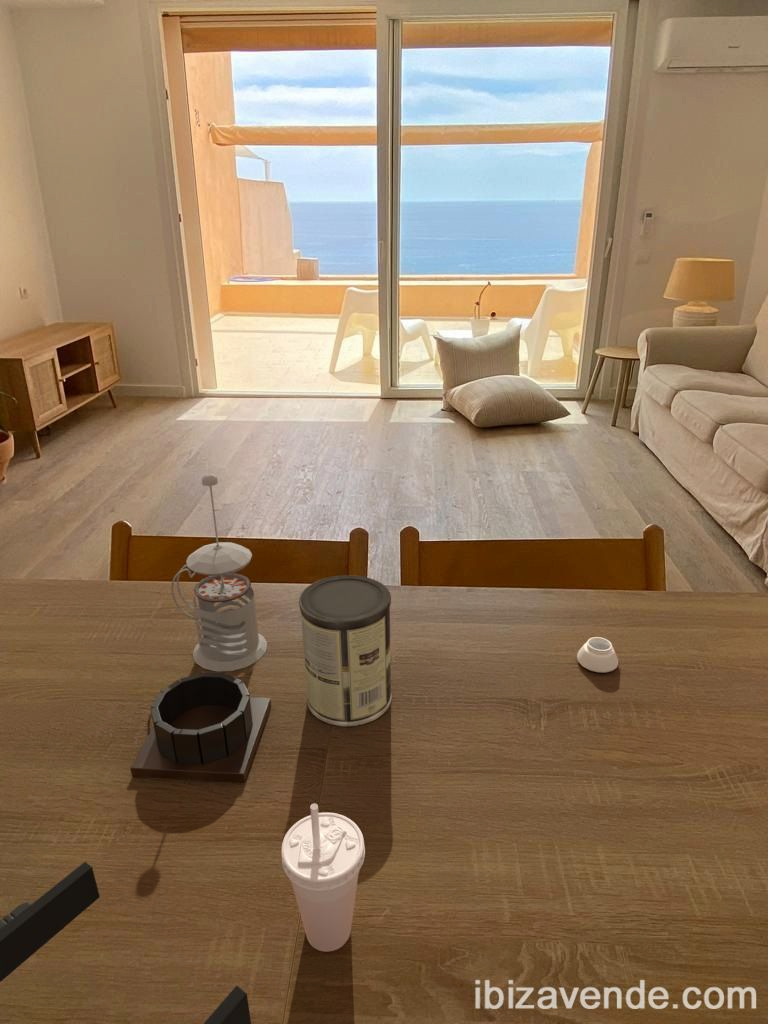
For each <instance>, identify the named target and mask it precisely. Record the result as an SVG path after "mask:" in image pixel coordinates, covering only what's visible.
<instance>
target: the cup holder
mask: <svg viewBox="0 0 768 1024" xmlns="http://www.w3.org/2000/svg"><path fill="white" fill-rule="evenodd" d="M271 708H272V700H271V697H257V696H256V697H255V696H251V695H250V693H249V691H248V688H247V686H246V684H245V682H243V680H241V679H239V678H237V677H235V676H232V675H231V674H228V673H225V672H206V671H205V672H199V673H195V674H192V675H188V676H185V677H180V679H177V680H175V681H173V682H172V683H171V684H169V685H167V686H166V687H164V688H163V689H161V690H160V692H158V693H157V695H156V697H155V699H154V701H153V703H152V704H151V706H150V715H151V719H152V727H151V730H150V731H149V734H148V735H147V737H146V739H145V741H144V743H143V744H142V747H141V748H140V750H139V751H138V753H137V755H136V757H135V759H134V761H133V762H132V764H131V766H130V773H131V777H136V778H154V779H171V780H173V779H174V780H191V781H208V782H209V781H210V782H227V783H228V782H229V783H246V780H247V777H248V775H249V774H248V773H249V771H250V768H251V766H252V762H253V760H254V756H255V754H256V751H257V748H258V745H259V742H260V740H261V737H262V736H261V735H262V734H263V731H264V727H265V725H266V722H267V719H268V716H269V713H270V711H271Z"/></svg>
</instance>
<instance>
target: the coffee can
mask: <svg viewBox="0 0 768 1024" xmlns="http://www.w3.org/2000/svg"><path fill="white" fill-rule="evenodd" d="M391 604H392V595H391V592H390V590H389V588H388V587H387V586H386V585H385V584H383V582H380V581H379V580H376V579H374V578H371V577H367V576H362V575H353V574H346V575H335V576H329V577H325V578H322V579H319V580H316V581H315V582H313V583H311V584H309V585H308V586H307V587H305V588H304V589H303V590H302V592H301V593H300V595H299V598H298V605H299V610H300V618H301V619H300V620H301V631H302V644H303V645H302V646H303V656H304V670H305V683H306V704H307V707H308V709H309V711H310V712H311V714H312V715H313V716H314V717H315V718H317V719H318V720H320V721H322V722H323V723H326V724H329V725H334V726H338V727H358V726H362V725H366V724H368V723H372V722H373V721H376V720H377V719H378V718H380V717H381V716H383V715H384V714H385V713H386V712H387V710H388V709H389V707H390V706H391V703H392V701H393V700H392V699H393V694H392V676H391V675H392V672H391V671H392V670H391V668H392V667H391V662H392V661H391Z"/></svg>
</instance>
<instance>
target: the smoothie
mask: <svg viewBox="0 0 768 1024" xmlns="http://www.w3.org/2000/svg"><path fill="white" fill-rule="evenodd" d="M309 808H310V815H306V816H305V817H302V818H301V819H299V820H298V821H296V822H295V823H294V824H293V825H292V826H291V827H290V828H289V829H288V830H287V832H286V833H285V835H284V838H283V840H282V844H281V865H282V868H283V871H284V873H285V874H286V876H287V877H288V879H289V880H290V884H291V887H292V890H293V894H294V898H295V900H296V904H297V908H298V912H299V915H300V919H301V922H302V926H303V929H304V933H305V937H306V939H307V942H308V943H309V945H310V946H311V947H312V948H314V949H315V950H317V951H320V952H324V953H325V952H327V953H329V952H334V951H337V950H339V949H340V948H342V947H343V946H344V945H345V944H346V943H347V941H348V940H349V938H350V936H351V934H352V933H351V932H352V925H353V918H354V910H355V903H356V895H357V886H358V880H359V874H360V870H361V869H362V866H363V864H364V861H365V856H366V848H365V839H364V836H363V833H362V831H361V829H360V828H359V826H358V825H357V824H356V823H355V822H354V820H351V818H349V817H347V816H345V815H343V814H339V813H336V812H319V806H318V804H317V803H311V805H310V807H309Z"/></svg>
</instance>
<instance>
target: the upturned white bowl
mask: <svg viewBox="0 0 768 1024" xmlns="http://www.w3.org/2000/svg"><path fill="white" fill-rule="evenodd" d="M576 659H577V662H578V663H579V664H580V666H582V667H583V668H585V669H586V670H589V671H591V672H596V673H609V672H613V671H614V670H616V669H617V668H618V664H619V658H618V656H617V654H616V652H615V648H614V647H613V644H612V642H611V641H610V640H608V639H607V638H604V637H600V636H593V637H589V638H588V640H586V642H585V643H584V644H583V645H582V646H581V648H580V649H579V650H578V652H577V654H576Z"/></svg>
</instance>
